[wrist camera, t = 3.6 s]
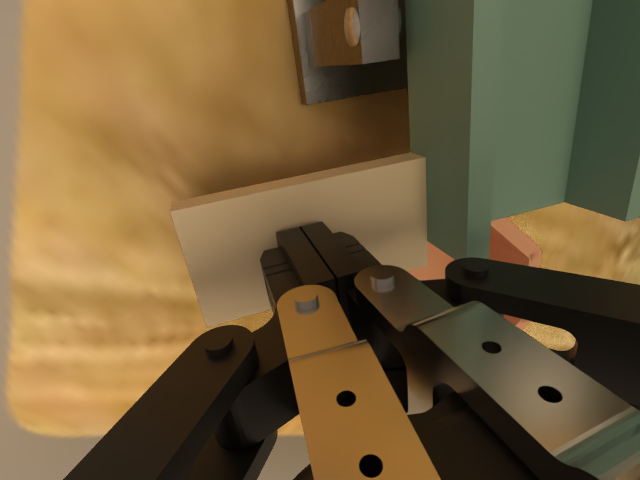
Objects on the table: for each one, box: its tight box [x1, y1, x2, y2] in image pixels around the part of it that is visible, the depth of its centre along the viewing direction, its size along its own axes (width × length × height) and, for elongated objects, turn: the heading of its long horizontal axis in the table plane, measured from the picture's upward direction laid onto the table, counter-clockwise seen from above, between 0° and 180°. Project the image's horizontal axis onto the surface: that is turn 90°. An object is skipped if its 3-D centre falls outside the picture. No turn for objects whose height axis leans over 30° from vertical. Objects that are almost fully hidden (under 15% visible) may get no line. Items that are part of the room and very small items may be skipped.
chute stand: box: [287, 0, 408, 105], centre depth 15 cm, size 11×5×7 cm, turn 98°
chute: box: [170, 0, 640, 327], centre depth 11 cm, size 15×15×6 cm
